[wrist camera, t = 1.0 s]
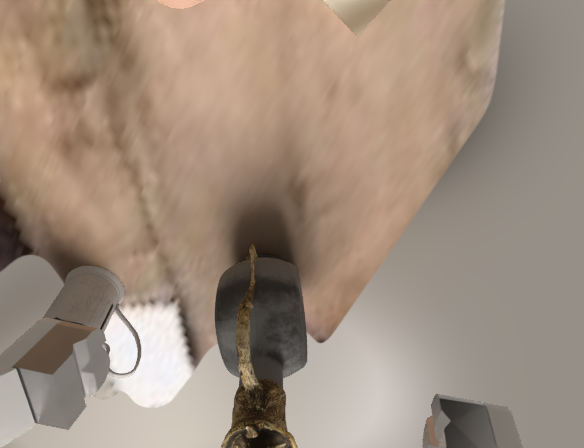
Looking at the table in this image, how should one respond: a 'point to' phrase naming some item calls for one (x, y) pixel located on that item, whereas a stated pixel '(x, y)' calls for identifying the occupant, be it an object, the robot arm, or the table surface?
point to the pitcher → (260, 345)
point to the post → (179, 3)
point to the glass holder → (92, 303)
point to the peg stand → (356, 12)
